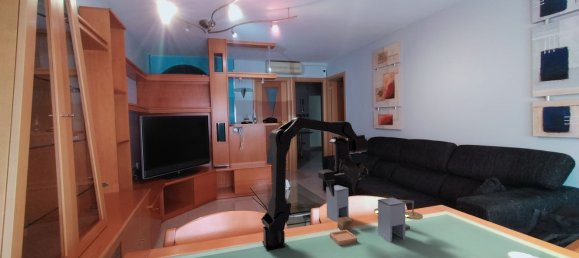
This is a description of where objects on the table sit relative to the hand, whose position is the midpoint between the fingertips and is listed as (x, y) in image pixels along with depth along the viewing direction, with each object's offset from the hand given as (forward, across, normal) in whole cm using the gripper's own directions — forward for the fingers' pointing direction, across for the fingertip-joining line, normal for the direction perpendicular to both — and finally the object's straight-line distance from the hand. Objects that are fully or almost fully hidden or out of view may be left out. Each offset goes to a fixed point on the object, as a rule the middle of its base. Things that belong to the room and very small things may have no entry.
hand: (343, 194), depth 105 cm
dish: (+13, -5, -8) cm, 16 cm away
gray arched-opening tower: (+14, +12, -12) cm, 22 cm away
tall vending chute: (+13, +3, +11) cm, 17 cm away
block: (+14, 0, 0) cm, 14 cm away
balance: (+14, +20, -6) cm, 25 cm away
